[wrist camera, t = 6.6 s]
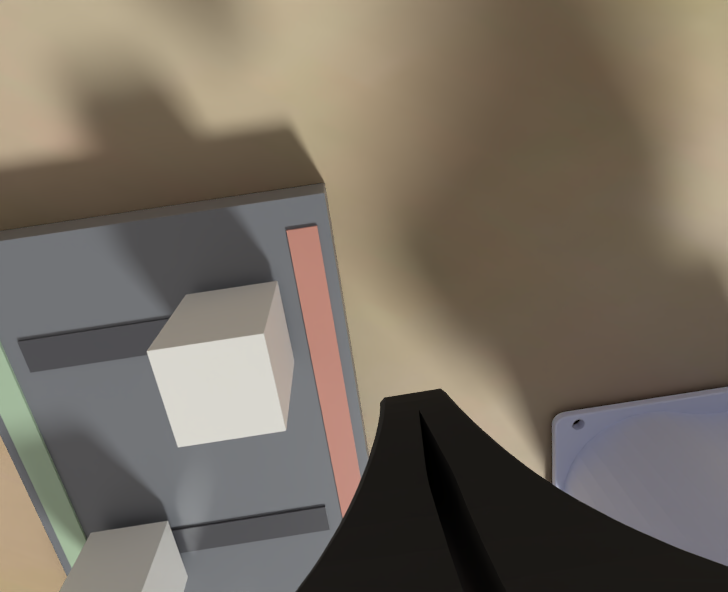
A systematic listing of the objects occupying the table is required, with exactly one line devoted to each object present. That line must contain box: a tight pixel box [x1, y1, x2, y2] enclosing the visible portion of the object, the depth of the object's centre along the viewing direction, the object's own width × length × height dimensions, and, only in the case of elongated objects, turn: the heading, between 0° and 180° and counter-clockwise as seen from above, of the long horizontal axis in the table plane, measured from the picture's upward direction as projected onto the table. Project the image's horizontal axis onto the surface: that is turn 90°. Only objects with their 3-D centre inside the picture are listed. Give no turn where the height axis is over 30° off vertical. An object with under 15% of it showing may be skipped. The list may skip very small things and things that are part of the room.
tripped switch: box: [147, 281, 294, 447], centre depth 16 cm, size 3×3×4 cm
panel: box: [0, 183, 369, 592], centre depth 22 cm, size 13×26×2 cm, turn 8°
